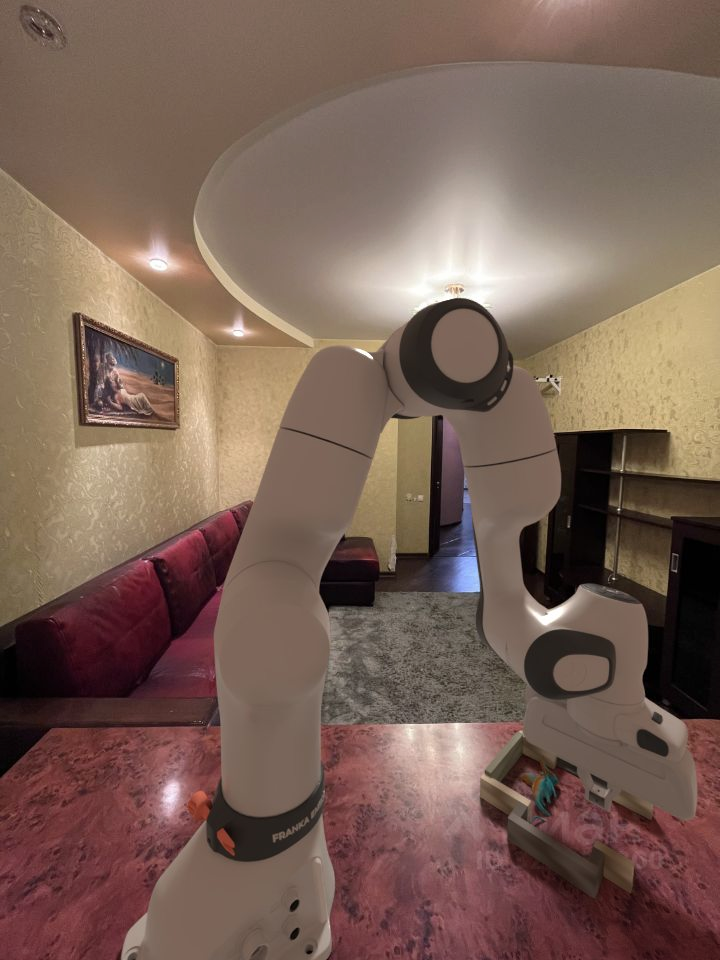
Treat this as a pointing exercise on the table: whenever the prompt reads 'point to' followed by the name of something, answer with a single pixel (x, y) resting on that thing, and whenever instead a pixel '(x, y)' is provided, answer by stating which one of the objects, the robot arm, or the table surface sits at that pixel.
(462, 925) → the table surface
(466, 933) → the table surface
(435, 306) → the robot arm
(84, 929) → the table surface
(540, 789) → the dragon figurine
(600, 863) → the channel
